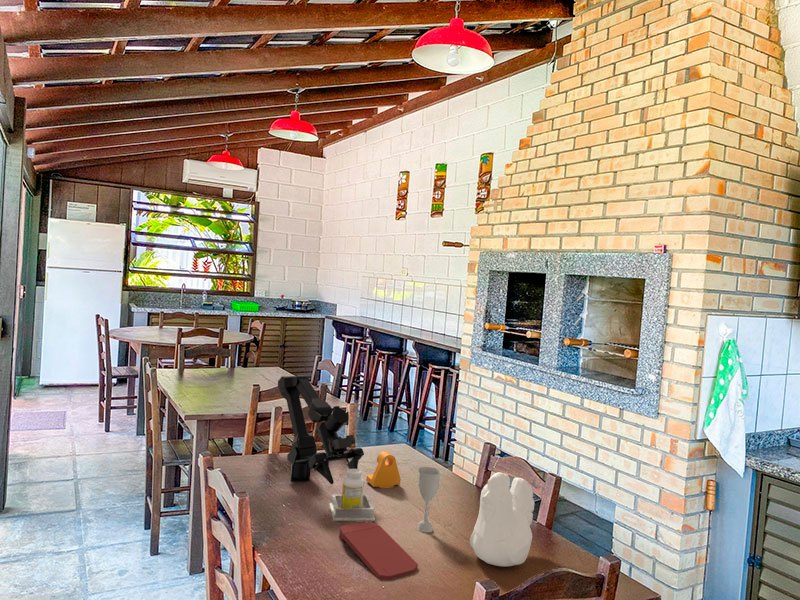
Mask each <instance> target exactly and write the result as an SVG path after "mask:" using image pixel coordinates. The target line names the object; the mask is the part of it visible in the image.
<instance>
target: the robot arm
mask: <svg viewBox="0 0 800 600" xmlns="http://www.w3.org/2000/svg"><path fill="white" fill-rule="evenodd" d="M277 387H278V389H279V393H280V396H281V397H282V398H284V399H285V401H286V404H287V409H288V413H289V419H290V422H291V423H290V424H291V427H292V433H293V441H292V443H291V450H289V451H288V453H287V455H286V458H287V462H288V463H290V464H291V468H290V475H289V477H290V482H308V481H310V479H309V478H311V471H312V469H313V471H316V472H318V473H319V474H320V475H321V476H323V478H324V479H325V480H326V481H327V482H329V484H330V485H333V484H334V483H335V482H334V477H333V475H332V473H331V469H330V464H329V463H330V462H335V461H343V460H345V461H346V462H347V464H346V466H347V468H348V470H349V469H358V468H359V467H358V466H359V462H360V460H361V459H362V457H363V456H364V455H365V452H364V450H363V448H362V447H354V448H353V446H352V445H355V444H356V439H355V436H354V434H349V435H346V437H341V436H339V434H338V432H339V431H340V430H341V429H342V428H343V427H344V426H345V425H346V423H347V422H348V421H349V415H348V413H347V412H346V411H345V410H343V409H342V408H341V407H340V405H334V406H333V407H332V406H331V405H330V404H329V403H328V402H327V401H326V400H324V399H322V398H320V396H319V395H318V393H317V391H316V390H315V388H314V387H313V385H312V384H311V381H310V380H309V376H308V375H305V374H302V375H282V376H281V377H280V378H279V379H278V381H277ZM300 395H301V396H300ZM300 397H302V399H303V401H304V402H305V403H306V406H307V407H308V413H307V414H308V416H309V419H310V420H311V422H312V423H313V424H319V423H320V424H319V425H317V427H316V430H315V434H317V435H318V434H319V437H320V440H321V443H322V445H321V449H322V450H324V452H318V449H317V444H316V440H315V436H314V435H310V434H309V432H308V428H307V424H306V421H305V415H304V412H303V406H302V402H301V398H300ZM347 448H350V450H349V451H348V452H346V451H347V450H348V449H347Z"/></svg>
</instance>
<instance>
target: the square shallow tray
mask: <svg viewBox="0 0 800 600" xmlns="http://www.w3.org/2000/svg"><path fill="white" fill-rule="evenodd" d="M341 503H342V494H336V493H335V494H331V499H330V502H329V503H328V506H329V510H331V511H330V514H332V515H331V519H332V518H333V519H332V522H333V521H356V522H364V521H365V522H376V518H375V508H374V505H373V503H372V501H371V499H370V495H369V494H363V502H362V508H341Z"/></svg>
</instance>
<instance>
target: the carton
mask: <svg viewBox="0 0 800 600" xmlns="http://www.w3.org/2000/svg"><path fill="white" fill-rule="evenodd" d="M339 529H340V530H339V535H338V539H339V540H341V541H342V542H344V541H345V543H346V544H347V545H348V546H349V547H350V548H351V549H352V551H353V552H354V553H355V554H356V555H357V556H358V558H359V559H360V560H361V561H362V562H363V563H364V565H366V567H367V568H368V569H369V570H370V571H371V573H372V574H373V575H374V576H375V577H376V576H377V577H376V578H377V579H379V578H382V580H391V579H395V578H399V577H402V576H406V575H410V574H413V573H414V572H416V570H417V569H418V566H419V564H418V563H417V562H416V561H415V560H414V559H413V558H412V556H410V555H409V554H408V553H407V552H406V551H405V550H404V549H403V547H401V546H400V545H399V544H398V542H397V541H395V540H394V539H393V538H392V537H391V536H390V535H389V533H387V531H386V530H385V529H384V528H383V527H382V526H381V525H379V524H376V523H374V522H372V521H358V522H356V523H351V524H349V523H348V524H345V525H340V528H339Z"/></svg>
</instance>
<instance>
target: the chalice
mask: <svg viewBox="0 0 800 600" xmlns="http://www.w3.org/2000/svg"><path fill="white" fill-rule="evenodd" d="M418 472H419V473H418V474H419V477H418V489H419V492H420V495H421V498H422V500H423V501H425V504H424V506H423V508H424V512H423V514H424V515H423V516H424V517H423V518H422V519H421V520H420V521H419V523H417V526H416V529H417V531H419V532H421V533H432V532H434V528H433V526H432V525H433V524H432V522H431V521H430V520H429V519H428V517H429V515H430V513H429V509H430V502H431V501H433V499H434V498H435V496H436V495H437V493H438V491H439V489H440V479H441V475H442V474H443V471H442V470H441V469H439V468H436V467H430V466H422V467H419V468H418Z"/></svg>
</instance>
